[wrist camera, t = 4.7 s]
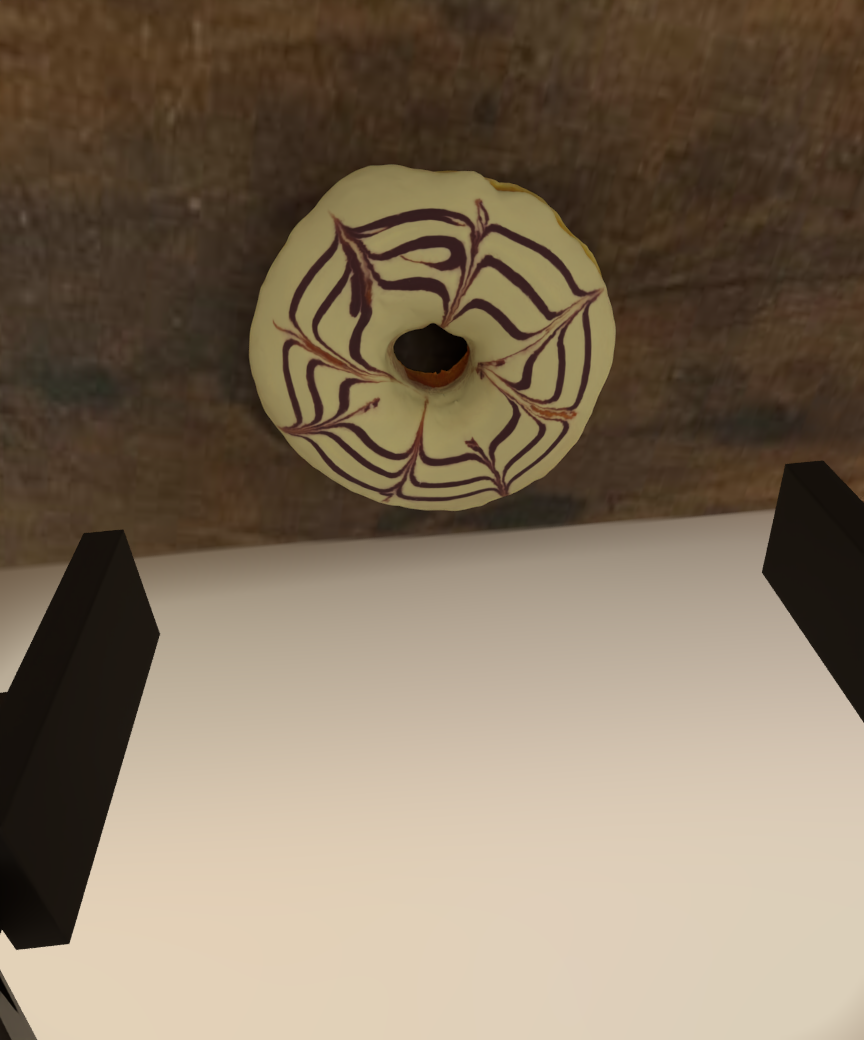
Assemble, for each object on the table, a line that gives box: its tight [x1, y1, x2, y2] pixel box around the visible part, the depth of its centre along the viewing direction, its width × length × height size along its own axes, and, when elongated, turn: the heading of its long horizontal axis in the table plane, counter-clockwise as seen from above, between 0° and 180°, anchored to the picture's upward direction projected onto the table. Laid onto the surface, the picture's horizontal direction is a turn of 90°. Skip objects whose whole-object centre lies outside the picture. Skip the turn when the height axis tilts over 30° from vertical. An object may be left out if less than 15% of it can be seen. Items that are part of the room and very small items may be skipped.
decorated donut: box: [249, 164, 616, 511], centre depth 24 cm, size 10×11×4 cm
